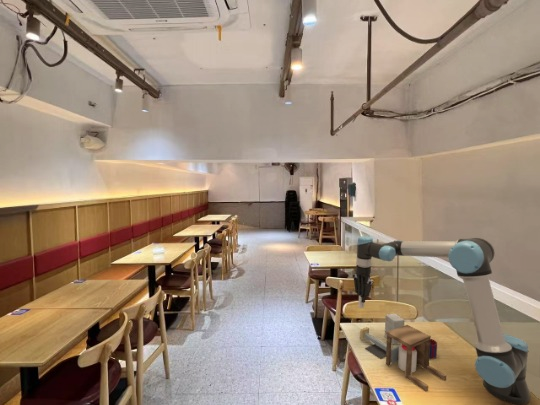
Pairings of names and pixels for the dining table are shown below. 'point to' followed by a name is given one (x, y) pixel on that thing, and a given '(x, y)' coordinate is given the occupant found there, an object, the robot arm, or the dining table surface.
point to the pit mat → (376, 351)
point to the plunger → (379, 343)
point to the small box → (393, 325)
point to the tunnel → (411, 339)
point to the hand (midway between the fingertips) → (361, 307)
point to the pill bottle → (403, 356)
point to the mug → (433, 349)
